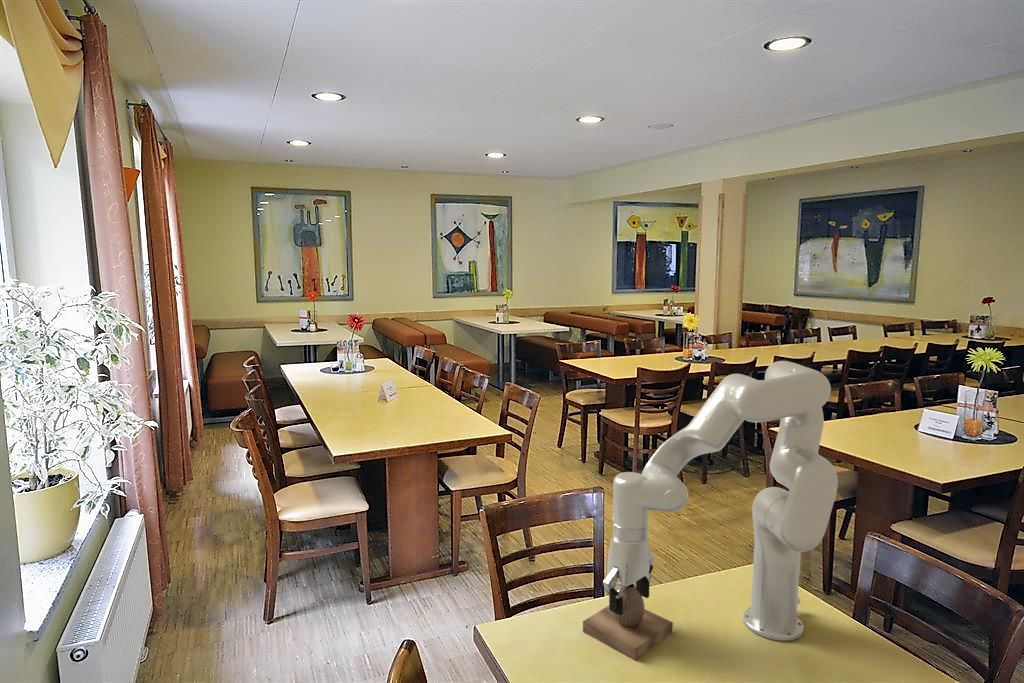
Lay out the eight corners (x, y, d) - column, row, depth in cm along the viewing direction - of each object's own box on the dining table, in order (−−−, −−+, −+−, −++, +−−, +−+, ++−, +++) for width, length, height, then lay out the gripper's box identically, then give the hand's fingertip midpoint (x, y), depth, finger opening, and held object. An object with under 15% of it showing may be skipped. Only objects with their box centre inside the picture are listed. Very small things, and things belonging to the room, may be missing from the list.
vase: (644, 633, 136) (645, 594, 135) (611, 629, 138) (612, 591, 137) (644, 615, 143) (645, 578, 142) (613, 611, 144) (614, 575, 143)
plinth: (621, 607, 151) (621, 597, 150) (672, 632, 141) (672, 622, 140) (582, 631, 141) (583, 621, 141) (634, 660, 131) (635, 649, 131)
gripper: (639, 513, 146) (638, 583, 149) (591, 537, 135) (591, 612, 137) (667, 523, 141) (666, 595, 143) (620, 548, 129) (619, 627, 131)
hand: (629, 603), depth 140 cm, fingers open, 9 cm apart
